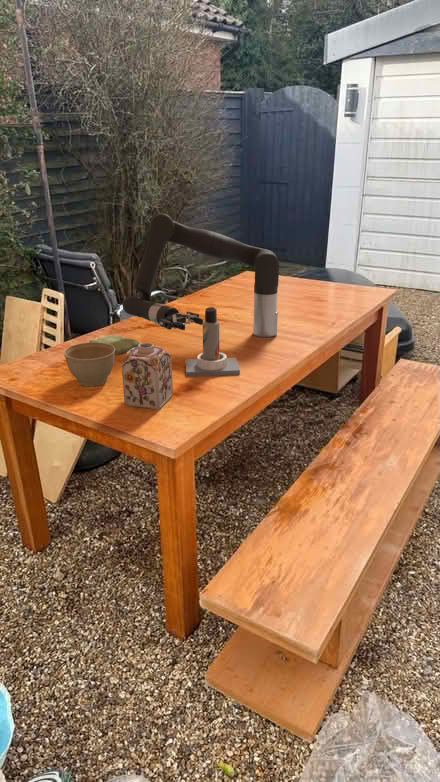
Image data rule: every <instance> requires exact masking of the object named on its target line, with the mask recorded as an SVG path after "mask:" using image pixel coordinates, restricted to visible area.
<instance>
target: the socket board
mask: <svg viewBox="0 0 440 782" xmlns="http://www.w3.org/2000/svg"><path fill="white" fill-rule="evenodd" d="M196 357H197V358H192V359H191V358H190V359H185V372H186V373H185V374H186V377H201V376H202V377H203V376H205V377H206V376H230V375H231V376H234V375H240V374H241V370H240V366H239V363H238V359H237V357H227V354H226V353H224V352H220V360H217V361H207V360H203V352H200V353H199V354H198V355H197V356H196Z"/></svg>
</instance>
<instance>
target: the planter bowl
mask: <svg viewBox="0 0 440 782" xmlns="http://www.w3.org/2000/svg"><path fill="white" fill-rule="evenodd" d="M63 355H64V358H65V363H66V366H67V368H68V370H69V372H70V373H71V374H72V376H73V377H74V378H75V379H76V380H77V383H78V384H79V385H81V386H85V387H95V386H100V385H103V384H105V383H106V382H107V381H108V377H109V376H110V374H111V372H112V370H113V368H114V364H115V357H116V354H115V348H114V347H113V346H112V345H110V344H107V343H101V342H82V343H77V344H72V345H71V346H69V347H66V348H65V350H64V351H63Z"/></svg>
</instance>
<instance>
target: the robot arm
mask: <svg viewBox="0 0 440 782" xmlns="http://www.w3.org/2000/svg"><path fill="white" fill-rule="evenodd" d="M147 239H148V240H147V244H146V248H145V251H144V252H143V253H144V254H143V257H142V259H141V262H140V264H139V267H138V270H137V274H136V276H135V279H134V282H133V283H134V284H133V288H134V290H135V291H137V292H138V297H137V296H134V295H129V296H127V297H125V298H124V300H123V301H122V310H123V311H124V312H125V314H127V315H130V316H131V315H132V316H134V317H137V318H143V319H145V320H147V321H148V322H149V321H150V322H152V323H154V324H156V325H159V326H160V327H162V328H164V329H167V330H169V331H170V330H172V329H174V330H176V329H177V330H181V331H185V330H186V325H189V324H196V325H199V326H203V322H204V318H202V317H200V313H195V312H191V311H186V312H185V313H182V312H180V311H178V309H177V308H176V307H174V306H171V305H167V304H163V303H157V302H154V301H152V291H153V290H152V288H153V287H154V283H155V282H156V281H155V280H156V277H157V273H158V269H159V266H160V262H161V257H162V254H163V251H164V249H165V247H166V244H167V243H173V244H177V245H181V246H184V247H186V248H189V249H190V250H192V251H195V252H197V253H199V254H201V255H205V256H208V257H210V258H214V259H217V260H219V261H220V260H221V261H225V262H226V261H227V262H236V263H239V264H244V265H246V266H248V267H250V268H253V269H254V283H253V284H254V285H253V318H252V319H253V321H252V322H253V325H252V326H253V328H252V331H253V332H252V334H253V336H256V337H259V338H270V337H273V336H278V316H279V315H278V314H279V312H278V310H277V309H278V289H279V280H280V279H279V276H280V260H279V259H278V257H277V255H276V253H275V252H273V251H272V250H269V249H266V248H261V247H256V246H252V245H249V244H246V243H243V242H241V241H238V240H236V239H234V238H232V237H228V236H227V235H225V234H222V233H218V232H215V231H211V230H208V229H203V228H197V227H191V226H187V225H185V224H182V223H179V222H177V221H175V220H173V218H172V217H171V216H170V215H168V214H167V213H162V212H161V213H157V214H156V215H154V216H153V217H152V219H150V222H149V232H148V238H147Z"/></svg>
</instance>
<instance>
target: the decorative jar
mask: <svg viewBox="0 0 440 782" xmlns="http://www.w3.org/2000/svg"><path fill="white" fill-rule="evenodd" d="M125 353H126V354H125V355H124V358H123V360H122V362H121V375H122V378H121V379H122V390H123V402H124V406H125V407H135V408H136V407H137V408H143V409H148V410H149V409H150V410H158V411H160V410H161V409H162V408H163V406H165V404H166V403H167V402H168V401H169V400H170V398H172V396H173V395H174V391H173V390H174V386H173V385H174V384H173V380H174V379H173V366H172V355H171V354H170V352H168V351H167V350H166V349H164V348H163V347H162V346H158V345H154V344H153V343H152V342H142V343H141V342H140V344H139V345H138V347H135V348H132V349H131V350H129V351H127V352H125Z"/></svg>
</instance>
